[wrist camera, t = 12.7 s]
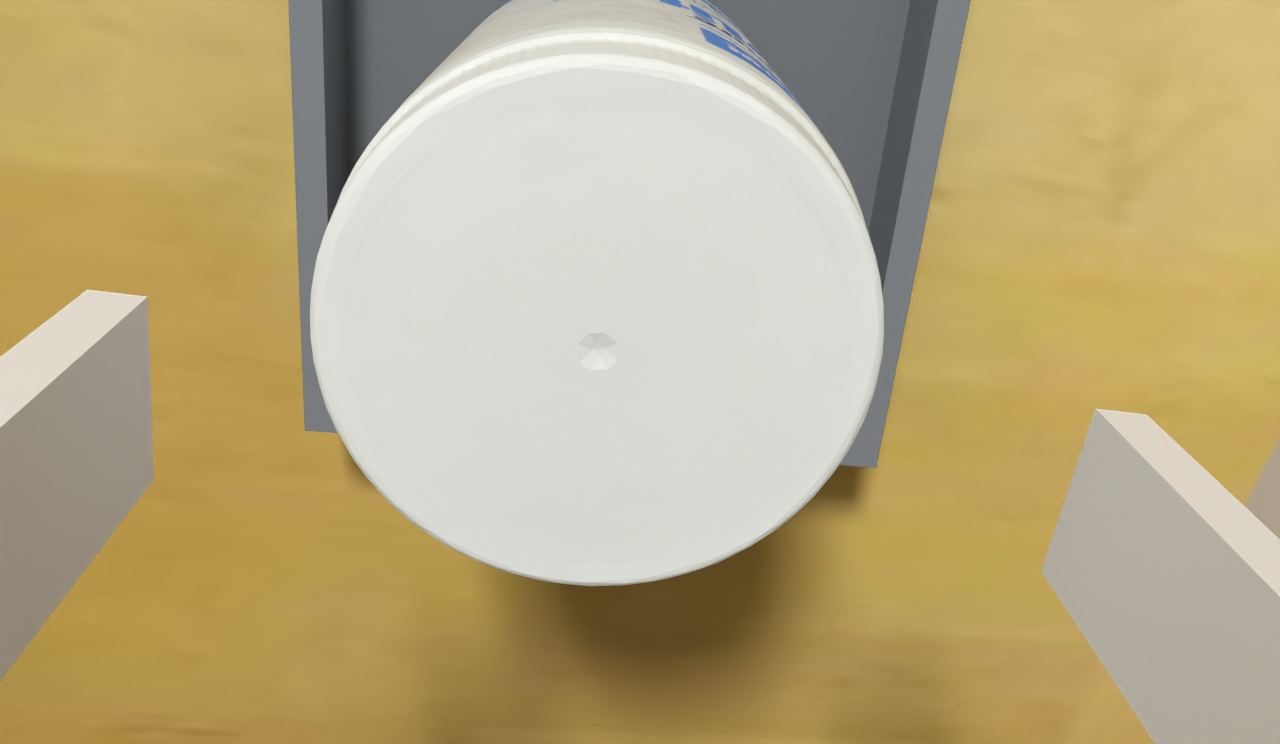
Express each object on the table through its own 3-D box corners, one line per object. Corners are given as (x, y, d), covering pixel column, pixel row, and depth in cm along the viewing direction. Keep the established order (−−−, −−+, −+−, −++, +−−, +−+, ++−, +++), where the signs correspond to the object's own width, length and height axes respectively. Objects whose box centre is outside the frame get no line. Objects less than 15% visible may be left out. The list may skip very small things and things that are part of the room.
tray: (957, -150, 29) (1001, -153, 26) (851, 414, 36) (876, 467, 32) (316, -216, 28) (279, -228, 25) (332, 379, 35) (305, 430, 31)
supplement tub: (815, 6, 30) (993, 114, 16) (734, 330, 33) (824, 636, 20) (454, -69, 28) (322, -20, 15) (412, 274, 32) (278, 557, 19)
